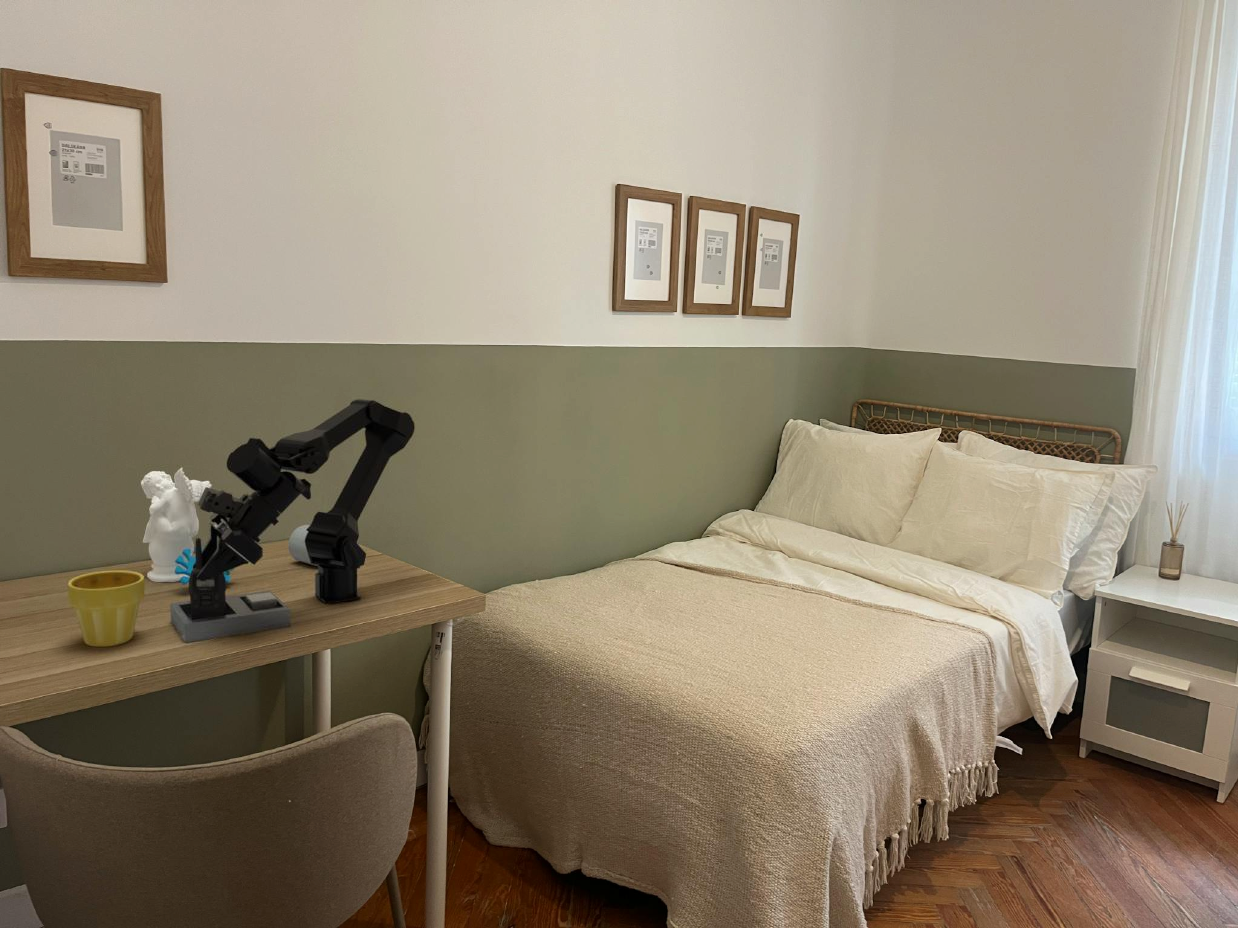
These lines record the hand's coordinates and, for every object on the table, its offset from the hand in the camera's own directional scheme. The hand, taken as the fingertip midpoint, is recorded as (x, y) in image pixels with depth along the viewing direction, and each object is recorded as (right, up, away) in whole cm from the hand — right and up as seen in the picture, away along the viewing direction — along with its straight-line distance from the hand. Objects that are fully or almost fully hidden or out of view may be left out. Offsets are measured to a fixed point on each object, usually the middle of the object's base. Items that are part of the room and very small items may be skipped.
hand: (196, 574), depth 150 cm
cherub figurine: (-17, -4, +31) cm, 35 cm away
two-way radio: (+1, -9, +3) cm, 9 cm away
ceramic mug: (+6, -3, +44) cm, 44 cm away
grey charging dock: (+4, -9, +4) cm, 10 cm away
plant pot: (-11, -10, -5) cm, 16 cm away
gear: (-9, -6, +23) cm, 25 cm away
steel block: (+8, -9, +7) cm, 13 cm away
